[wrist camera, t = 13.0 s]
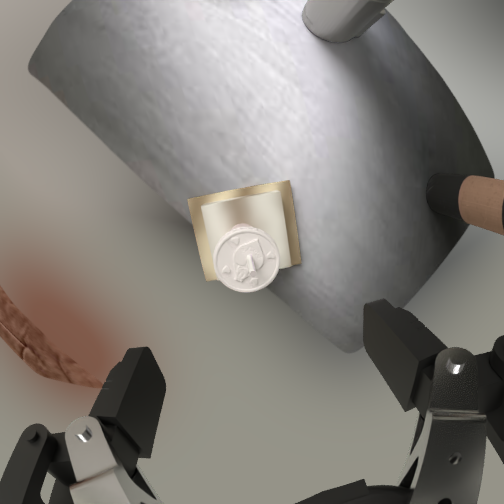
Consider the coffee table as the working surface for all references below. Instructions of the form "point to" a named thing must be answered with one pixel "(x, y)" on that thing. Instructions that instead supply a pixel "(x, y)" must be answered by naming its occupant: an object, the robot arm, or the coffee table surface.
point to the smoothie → (246, 259)
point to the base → (237, 192)
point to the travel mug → (468, 199)
